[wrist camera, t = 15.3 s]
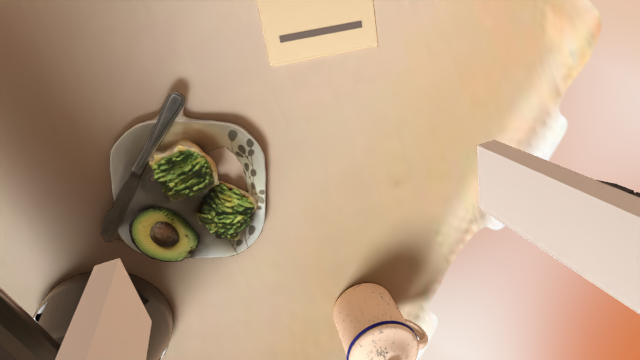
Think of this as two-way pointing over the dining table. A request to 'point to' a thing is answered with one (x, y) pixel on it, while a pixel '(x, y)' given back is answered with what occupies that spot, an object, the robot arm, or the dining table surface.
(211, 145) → the salad plate
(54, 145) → the dining table surface
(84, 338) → the robot arm
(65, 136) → the dining table surface
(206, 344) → the dining table surface
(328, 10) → the letter
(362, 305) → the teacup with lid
